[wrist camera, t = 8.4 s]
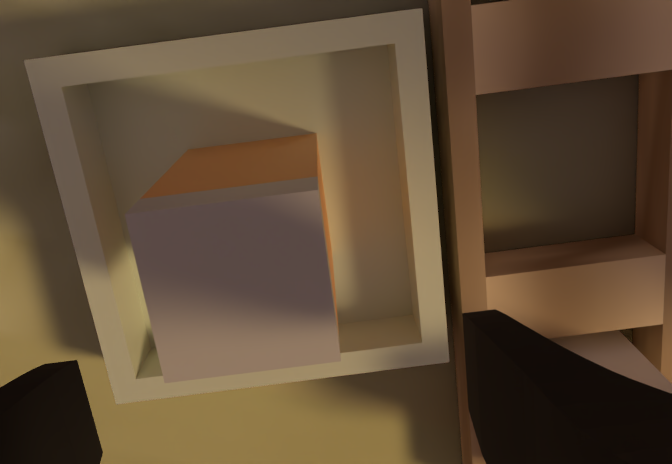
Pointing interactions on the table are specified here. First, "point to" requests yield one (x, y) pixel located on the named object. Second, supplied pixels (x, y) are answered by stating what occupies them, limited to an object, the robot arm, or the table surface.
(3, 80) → the table surface
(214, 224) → the block
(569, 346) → the block
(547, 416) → the robot arm
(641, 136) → the rack
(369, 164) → the tray
